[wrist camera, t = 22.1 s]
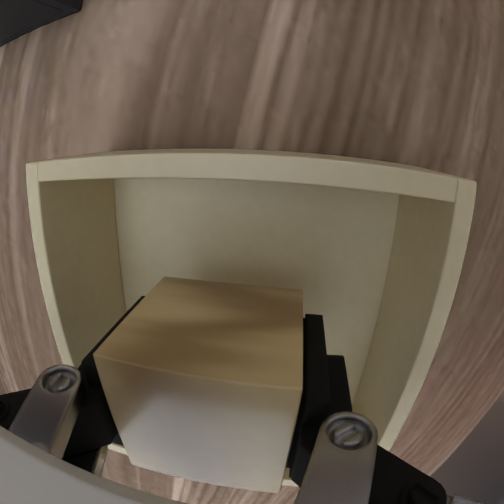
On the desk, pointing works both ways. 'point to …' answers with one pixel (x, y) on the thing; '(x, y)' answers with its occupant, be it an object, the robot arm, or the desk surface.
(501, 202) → the desk surface
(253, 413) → the maple block
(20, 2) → the charcoal bin
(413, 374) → the cream bin
